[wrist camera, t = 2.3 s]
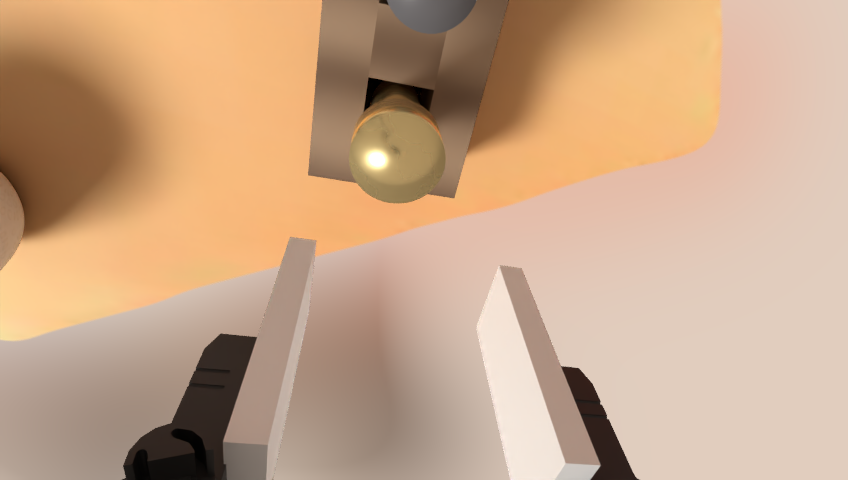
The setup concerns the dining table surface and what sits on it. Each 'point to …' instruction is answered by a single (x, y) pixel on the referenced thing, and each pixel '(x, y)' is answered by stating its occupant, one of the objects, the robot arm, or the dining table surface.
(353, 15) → the mount
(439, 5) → the pot knob
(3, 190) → the planter
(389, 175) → the knob
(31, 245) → the dining table surface
